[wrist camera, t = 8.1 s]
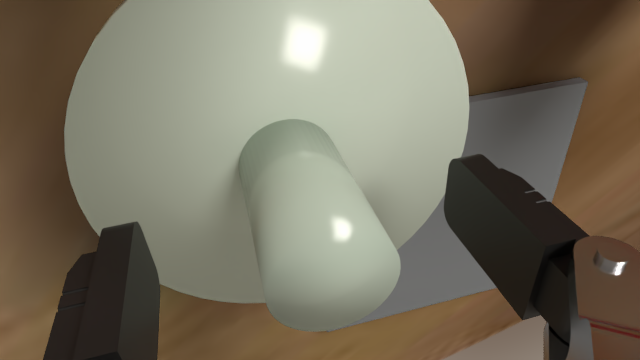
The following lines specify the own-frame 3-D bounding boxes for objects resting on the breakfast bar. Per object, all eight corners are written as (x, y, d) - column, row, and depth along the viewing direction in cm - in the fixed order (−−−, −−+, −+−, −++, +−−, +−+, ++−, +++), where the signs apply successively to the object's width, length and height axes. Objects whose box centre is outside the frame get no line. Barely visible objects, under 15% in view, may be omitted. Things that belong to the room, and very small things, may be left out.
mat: (579, 77, 22) (588, 81, 22) (522, 273, 30) (528, 279, 30) (308, 124, 20) (311, 130, 19) (324, 324, 28) (327, 332, 27)
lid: (476, -86, 12) (679, -63, 7) (437, 244, 19) (526, 369, 14) (-15, -36, 10) (-200, 45, 5) (143, 315, 17) (129, 491, 12)
